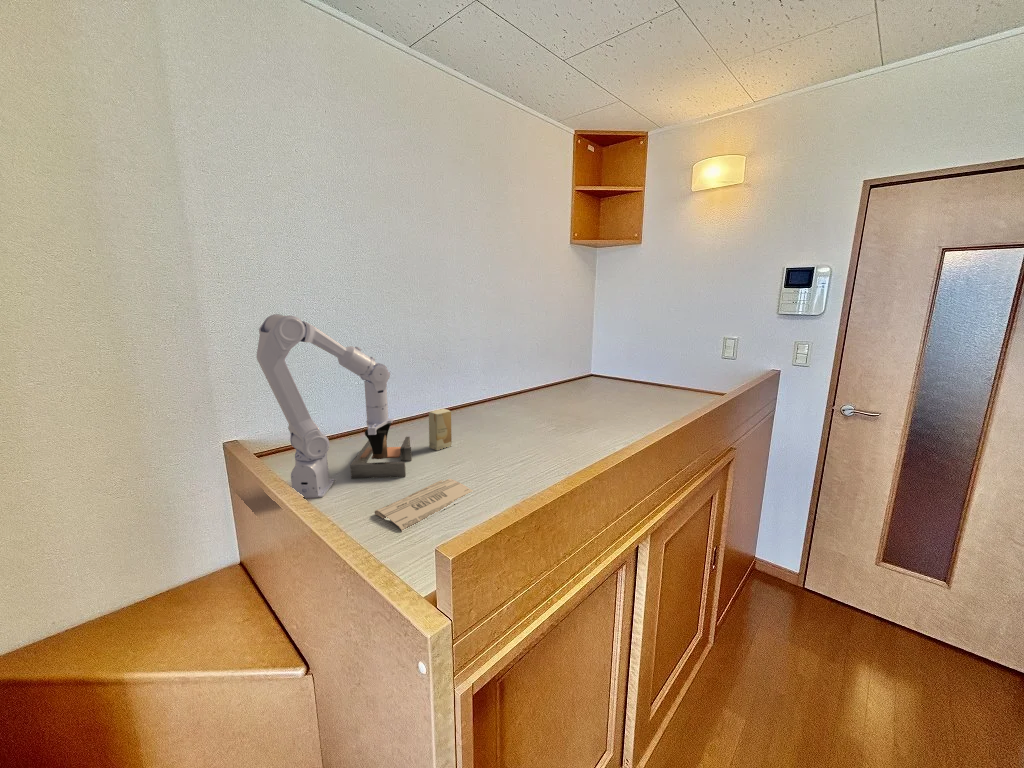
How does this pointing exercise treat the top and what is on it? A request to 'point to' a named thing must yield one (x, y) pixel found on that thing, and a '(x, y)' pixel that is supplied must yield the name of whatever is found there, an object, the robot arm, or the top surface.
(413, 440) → the top surface
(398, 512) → the newspaper
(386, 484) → the top surface
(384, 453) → the brown cylinder
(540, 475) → the top surface
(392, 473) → the rail channel
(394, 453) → the pad
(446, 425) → the skincare box
